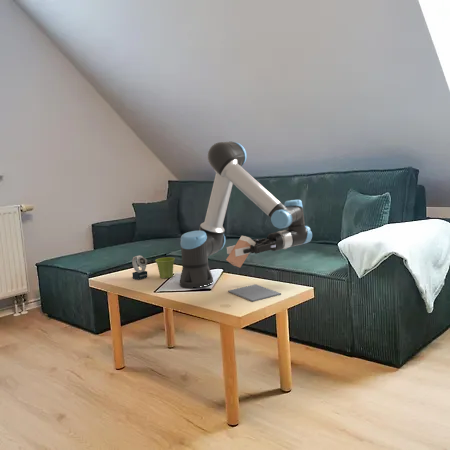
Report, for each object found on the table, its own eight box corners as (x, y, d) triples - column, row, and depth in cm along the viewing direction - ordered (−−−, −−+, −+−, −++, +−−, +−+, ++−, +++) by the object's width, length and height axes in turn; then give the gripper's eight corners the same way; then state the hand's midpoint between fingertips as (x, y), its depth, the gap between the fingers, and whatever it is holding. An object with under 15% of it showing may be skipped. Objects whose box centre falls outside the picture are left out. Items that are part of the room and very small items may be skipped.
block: (225, 259, 203) (241, 235, 205) (232, 265, 204) (248, 240, 207) (233, 262, 197) (249, 237, 200) (240, 267, 199) (256, 242, 202)
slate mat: (228, 291, 211) (228, 290, 211) (255, 285, 218) (255, 284, 218) (252, 301, 196) (252, 300, 196) (281, 294, 203) (281, 293, 203)
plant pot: (152, 277, 243) (151, 260, 241) (168, 273, 249) (166, 256, 248) (164, 280, 236) (163, 262, 235) (180, 276, 243) (178, 258, 241)
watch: (141, 280, 238) (139, 258, 237) (130, 278, 244) (128, 256, 242) (150, 277, 242) (148, 255, 241) (139, 275, 248) (137, 254, 246)
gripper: (293, 252, 203) (244, 265, 192) (267, 246, 220) (221, 257, 209) (291, 234, 202) (242, 246, 191) (265, 229, 218) (219, 239, 208)
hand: (231, 251), depth 200 cm, fingers closed on block, 6 cm apart
